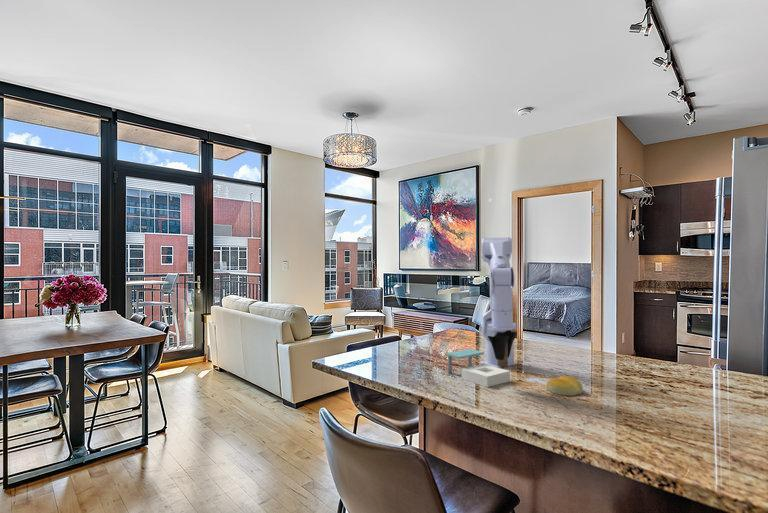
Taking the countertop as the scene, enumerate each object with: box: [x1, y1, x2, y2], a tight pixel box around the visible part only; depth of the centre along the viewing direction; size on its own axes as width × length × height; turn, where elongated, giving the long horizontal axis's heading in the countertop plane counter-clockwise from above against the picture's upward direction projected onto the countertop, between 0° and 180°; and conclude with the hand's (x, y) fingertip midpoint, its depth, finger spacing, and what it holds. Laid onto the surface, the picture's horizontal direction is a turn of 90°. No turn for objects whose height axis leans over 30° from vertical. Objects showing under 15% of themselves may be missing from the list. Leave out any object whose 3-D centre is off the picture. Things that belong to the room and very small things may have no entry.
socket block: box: [461, 363, 511, 388], centre depth 119 cm, size 10×10×3 cm
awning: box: [445, 348, 485, 375], centre depth 127 cm, size 11×6×6 cm, turn 124°
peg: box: [497, 341, 509, 368], centre depth 111 cm, size 3×3×7 cm
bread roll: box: [546, 375, 584, 397], centre depth 108 cm, size 8×9×4 cm
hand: (502, 358), depth 111 cm, fingers closed on peg, 3 cm apart
